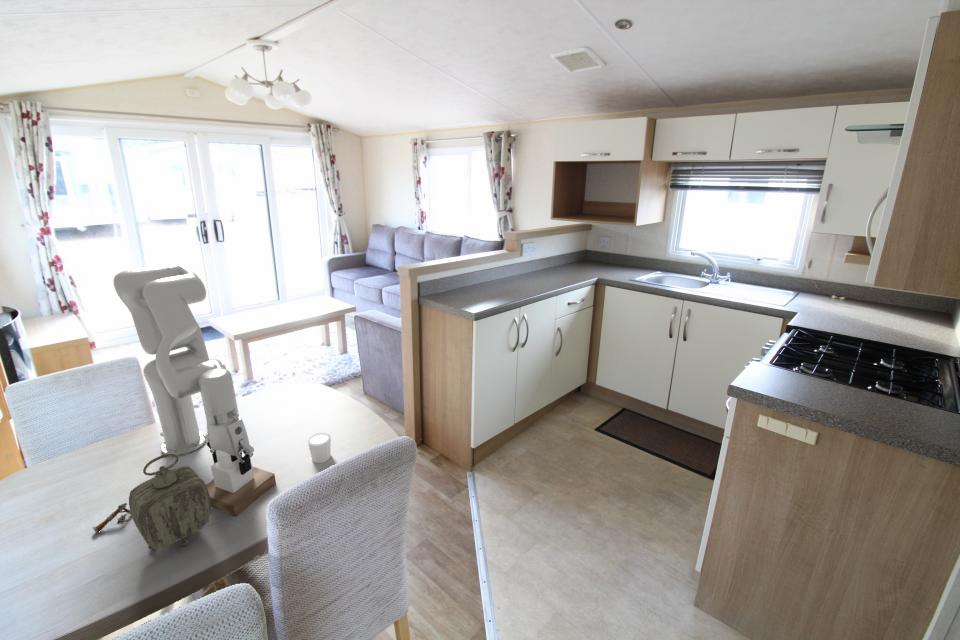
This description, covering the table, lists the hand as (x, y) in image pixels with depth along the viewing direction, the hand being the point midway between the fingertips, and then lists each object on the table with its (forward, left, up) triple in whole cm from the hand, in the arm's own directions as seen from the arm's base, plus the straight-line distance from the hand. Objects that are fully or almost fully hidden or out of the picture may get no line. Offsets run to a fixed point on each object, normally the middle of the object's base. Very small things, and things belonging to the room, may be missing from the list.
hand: (233, 467), depth 124 cm
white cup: (+11, +22, -9) cm, 26 cm away
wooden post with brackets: (-20, -21, -9) cm, 30 cm away
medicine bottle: (0, 0, -5) cm, 5 cm away
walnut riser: (0, 0, -9) cm, 9 cm away
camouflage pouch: (+2, -18, -9) cm, 20 cm away
